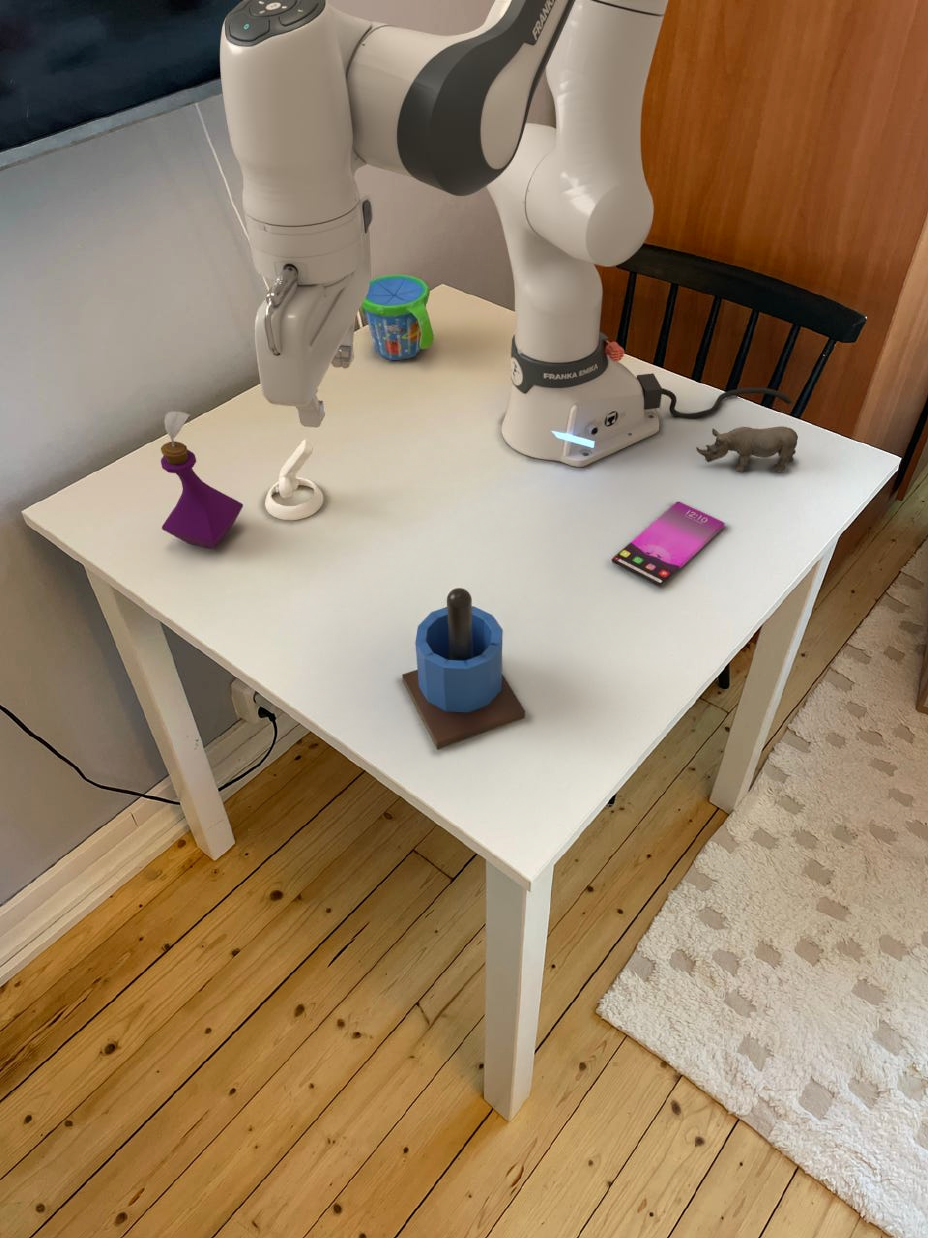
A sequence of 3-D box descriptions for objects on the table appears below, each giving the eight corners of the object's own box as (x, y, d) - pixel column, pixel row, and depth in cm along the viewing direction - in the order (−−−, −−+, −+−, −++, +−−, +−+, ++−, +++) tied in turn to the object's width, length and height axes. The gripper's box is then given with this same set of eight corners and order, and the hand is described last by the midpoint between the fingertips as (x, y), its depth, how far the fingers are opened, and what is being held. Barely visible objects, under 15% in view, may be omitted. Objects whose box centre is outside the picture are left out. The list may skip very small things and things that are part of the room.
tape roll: (424, 648, 107) (421, 603, 101) (503, 651, 106) (504, 607, 101) (415, 710, 100) (411, 666, 95) (499, 714, 100) (499, 670, 95)
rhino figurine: (690, 455, 132) (696, 418, 128) (790, 455, 132) (801, 418, 127) (694, 474, 129) (701, 437, 125) (797, 473, 129) (808, 436, 124)
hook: (352, 488, 120) (302, 471, 116) (308, 539, 128) (259, 525, 124) (350, 443, 124) (301, 425, 120) (307, 496, 132) (260, 480, 128)
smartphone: (609, 564, 117) (610, 558, 116) (676, 503, 125) (677, 498, 124) (660, 590, 114) (660, 585, 113) (725, 526, 121) (726, 521, 121)
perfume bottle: (219, 561, 119) (185, 441, 106) (167, 548, 121) (128, 428, 108) (248, 523, 124) (220, 404, 111) (198, 511, 126) (164, 393, 113)
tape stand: (485, 653, 107) (485, 545, 96) (524, 717, 101) (529, 610, 89) (402, 681, 105) (391, 573, 93) (437, 749, 98) (429, 642, 87)
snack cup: (345, 339, 155) (338, 279, 148) (401, 320, 159) (396, 261, 152) (395, 382, 146) (391, 320, 139) (453, 360, 150) (451, 299, 143)
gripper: (306, 306, 67) (330, 465, 77) (377, 188, 81) (390, 336, 91) (221, 300, 68) (255, 458, 78) (306, 184, 82) (326, 331, 92)
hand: (328, 391), depth 85 cm, fingers open, 8 cm apart
